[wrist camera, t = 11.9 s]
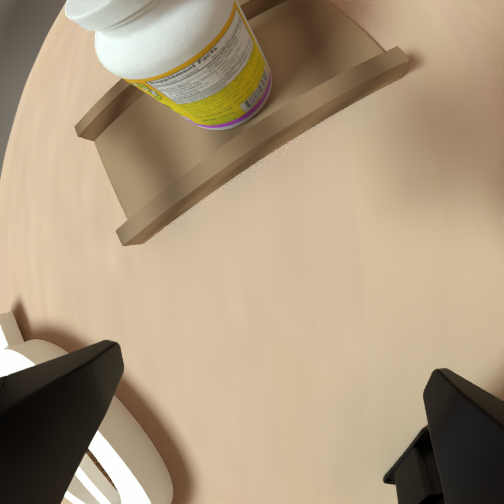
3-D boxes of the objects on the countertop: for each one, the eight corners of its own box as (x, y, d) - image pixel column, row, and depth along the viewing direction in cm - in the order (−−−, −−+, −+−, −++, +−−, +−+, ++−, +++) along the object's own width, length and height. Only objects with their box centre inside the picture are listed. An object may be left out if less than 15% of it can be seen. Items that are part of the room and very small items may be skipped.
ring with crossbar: (10, 300, 28) (-18, 306, 23) (192, 424, 22) (167, 457, 17) (31, 438, 32) (14, 449, 28) (164, 533, 26) (150, 552, 21)
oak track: (142, 243, 21) (122, 246, 19) (93, 132, 22) (74, 126, 19) (402, 76, 15) (410, 59, 13) (305, -15, 16) (301, -34, 14)
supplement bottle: (177, 71, 19) (60, -20, 6) (260, 40, 17) (186, -94, 5) (190, 147, 19) (35, 74, 6) (285, 116, 17) (208, -35, 5)
